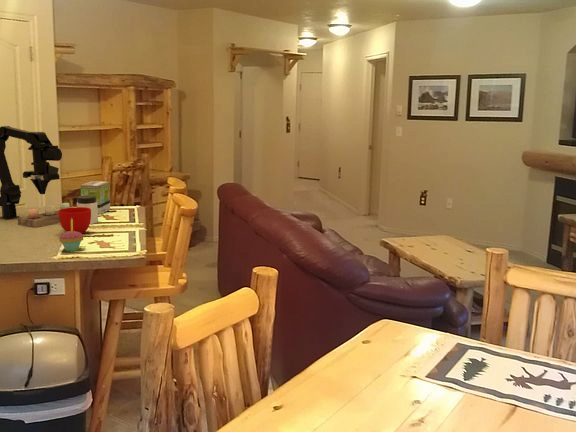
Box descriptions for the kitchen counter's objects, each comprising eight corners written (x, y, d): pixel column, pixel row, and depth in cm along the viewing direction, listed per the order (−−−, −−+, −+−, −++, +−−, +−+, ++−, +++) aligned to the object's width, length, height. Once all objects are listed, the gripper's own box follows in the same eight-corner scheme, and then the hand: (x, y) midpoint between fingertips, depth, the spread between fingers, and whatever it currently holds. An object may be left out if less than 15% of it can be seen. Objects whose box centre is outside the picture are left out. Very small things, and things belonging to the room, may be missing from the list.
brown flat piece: (18, 224, 269) (17, 218, 268) (64, 215, 290) (63, 209, 289) (35, 227, 262) (34, 220, 262) (81, 218, 284) (80, 211, 283)
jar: (100, 223, 273) (99, 197, 270) (83, 225, 267) (81, 199, 265) (93, 220, 279) (91, 194, 277) (75, 222, 274) (74, 196, 272)
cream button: (43, 215, 275) (42, 206, 274) (50, 213, 278) (50, 205, 277) (49, 216, 273) (48, 207, 272) (56, 214, 276) (56, 206, 275)
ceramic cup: (79, 227, 264) (78, 204, 262) (97, 233, 252) (96, 210, 250) (50, 231, 255) (48, 208, 253) (68, 238, 243) (66, 214, 241)
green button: (59, 212, 282) (58, 203, 281) (66, 210, 285) (65, 202, 285) (64, 213, 280) (64, 204, 279) (71, 211, 283) (71, 203, 282)
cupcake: (63, 247, 229) (61, 216, 227) (86, 246, 230) (84, 216, 227) (57, 252, 221) (55, 220, 218) (80, 252, 221) (78, 220, 219)
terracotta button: (27, 218, 268) (26, 209, 267) (34, 216, 271) (34, 208, 270) (32, 219, 266) (32, 210, 265) (40, 217, 269) (40, 208, 268)
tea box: (101, 215, 291) (100, 185, 288) (81, 215, 291) (79, 184, 289) (111, 209, 306) (109, 180, 303) (91, 209, 306) (89, 180, 303)
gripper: (68, 159, 273) (70, 193, 276) (41, 157, 283) (44, 190, 286) (47, 161, 264) (50, 196, 267) (20, 159, 273) (23, 193, 276)
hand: (42, 194), depth 274 cm, fingers closed
